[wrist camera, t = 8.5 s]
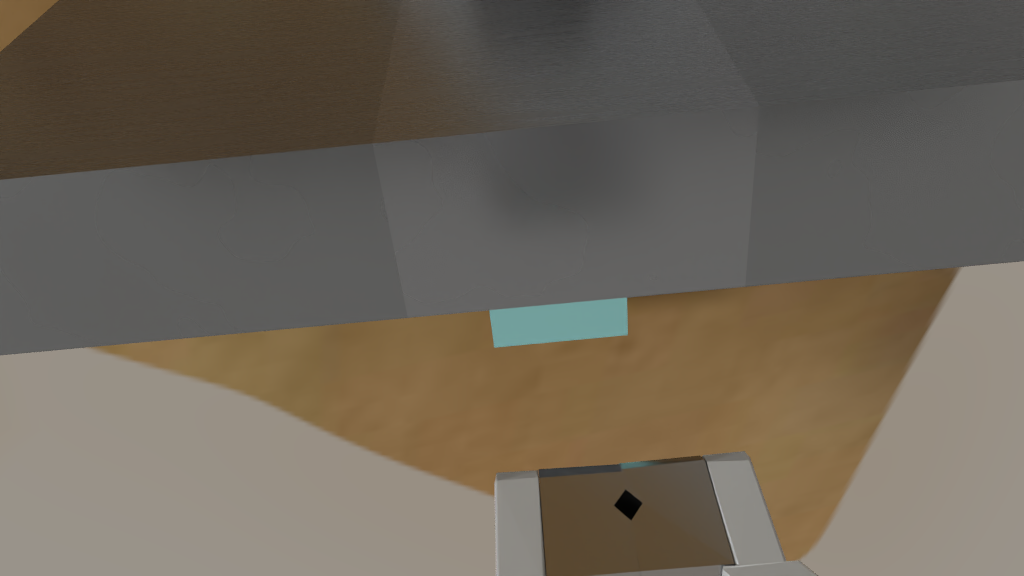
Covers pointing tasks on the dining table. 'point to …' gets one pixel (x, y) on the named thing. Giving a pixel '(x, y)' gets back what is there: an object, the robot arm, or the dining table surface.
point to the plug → (559, 322)
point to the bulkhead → (488, 155)
